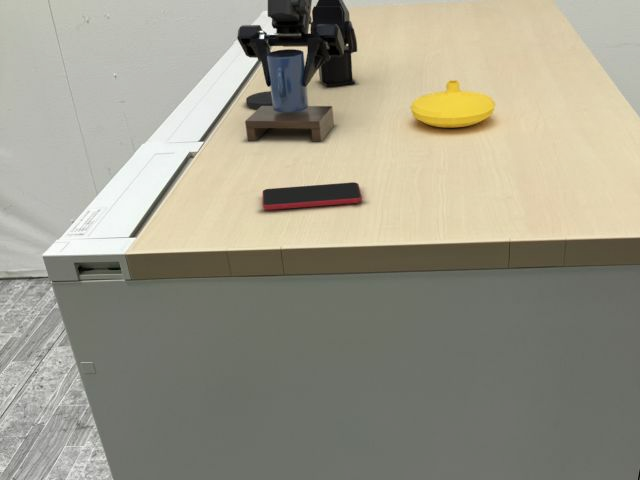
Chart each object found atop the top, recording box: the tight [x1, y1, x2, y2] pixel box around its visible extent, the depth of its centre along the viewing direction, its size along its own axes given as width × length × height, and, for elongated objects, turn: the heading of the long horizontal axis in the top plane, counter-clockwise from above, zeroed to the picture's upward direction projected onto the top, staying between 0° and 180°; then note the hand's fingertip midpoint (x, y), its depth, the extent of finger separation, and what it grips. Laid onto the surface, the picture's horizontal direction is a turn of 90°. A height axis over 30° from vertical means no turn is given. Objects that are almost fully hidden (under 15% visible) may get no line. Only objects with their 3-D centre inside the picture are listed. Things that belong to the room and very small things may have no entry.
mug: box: [267, 48, 309, 113], centre depth 149 cm, size 8×7×9 cm
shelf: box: [244, 105, 335, 143], centre depth 153 cm, size 10×14×4 cm
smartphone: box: [262, 182, 363, 211], centre depth 126 cm, size 7×1×15 cm
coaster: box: [245, 90, 273, 111], centre depth 171 cm, size 10×10×1 cm
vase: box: [410, 79, 496, 128], centre depth 152 cm, size 16×16×7 cm
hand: (285, 85), depth 149 cm, fingers closed on mug, 6 cm apart
